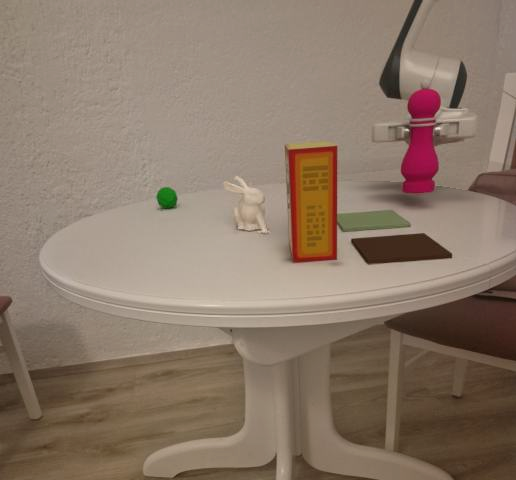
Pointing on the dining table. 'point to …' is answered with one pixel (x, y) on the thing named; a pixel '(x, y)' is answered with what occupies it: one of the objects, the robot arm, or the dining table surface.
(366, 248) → the dark mat
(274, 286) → the dining table surface
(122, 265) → the dining table surface
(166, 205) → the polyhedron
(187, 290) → the dining table surface
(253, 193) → the rabbit figurine
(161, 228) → the dining table surface
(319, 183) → the baking soda box
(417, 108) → the pepper mill
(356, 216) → the sage mat
